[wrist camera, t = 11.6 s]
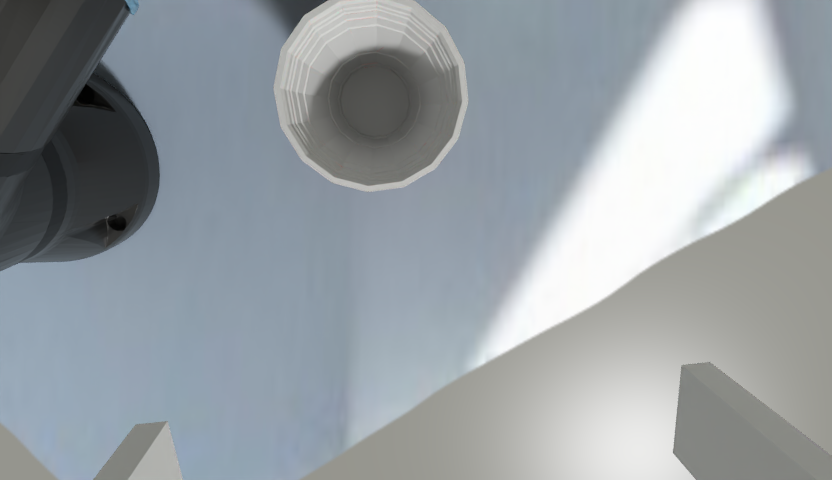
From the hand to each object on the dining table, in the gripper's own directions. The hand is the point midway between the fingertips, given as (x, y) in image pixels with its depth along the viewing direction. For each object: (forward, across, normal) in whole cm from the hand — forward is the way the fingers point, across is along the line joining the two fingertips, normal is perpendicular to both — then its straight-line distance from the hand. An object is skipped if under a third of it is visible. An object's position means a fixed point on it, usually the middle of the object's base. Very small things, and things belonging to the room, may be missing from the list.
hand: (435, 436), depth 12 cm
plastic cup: (+29, -1, +9) cm, 30 cm away
